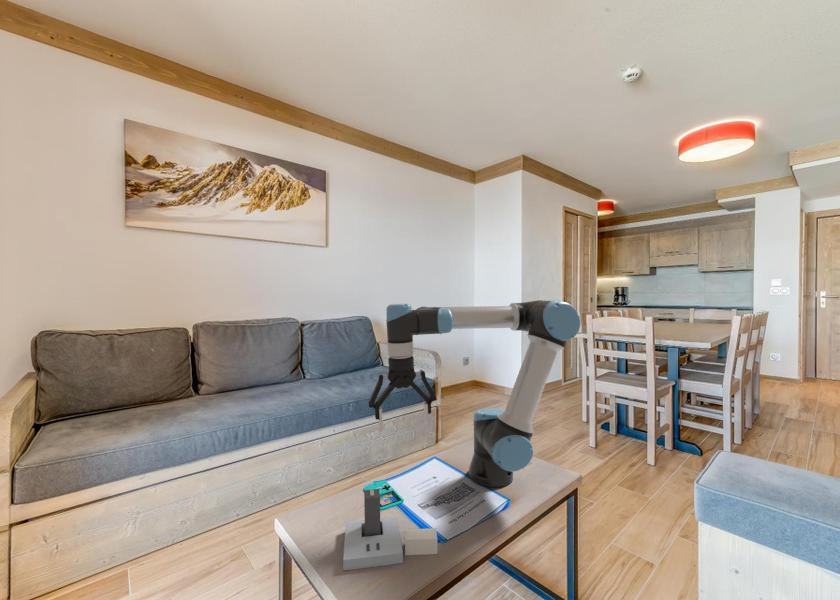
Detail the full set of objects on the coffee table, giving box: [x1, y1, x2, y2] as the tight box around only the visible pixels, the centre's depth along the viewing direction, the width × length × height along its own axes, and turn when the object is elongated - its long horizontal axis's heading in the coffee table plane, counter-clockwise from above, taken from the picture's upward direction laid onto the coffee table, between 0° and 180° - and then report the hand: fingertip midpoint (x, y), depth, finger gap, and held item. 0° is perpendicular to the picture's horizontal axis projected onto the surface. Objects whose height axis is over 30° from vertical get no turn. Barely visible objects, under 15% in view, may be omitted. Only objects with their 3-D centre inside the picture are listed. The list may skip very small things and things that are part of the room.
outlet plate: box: [342, 516, 404, 571], centre depth 92 cm, size 14×14×3 cm
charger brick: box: [363, 489, 381, 537], centre depth 95 cm, size 4×4×12 cm
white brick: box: [404, 527, 438, 556], centre depth 91 cm, size 8×4×4 cm, turn 93°
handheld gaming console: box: [363, 480, 405, 511], centre depth 115 cm, size 8×1×15 cm
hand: (404, 427), depth 107 cm, fingers open, 13 cm apart
